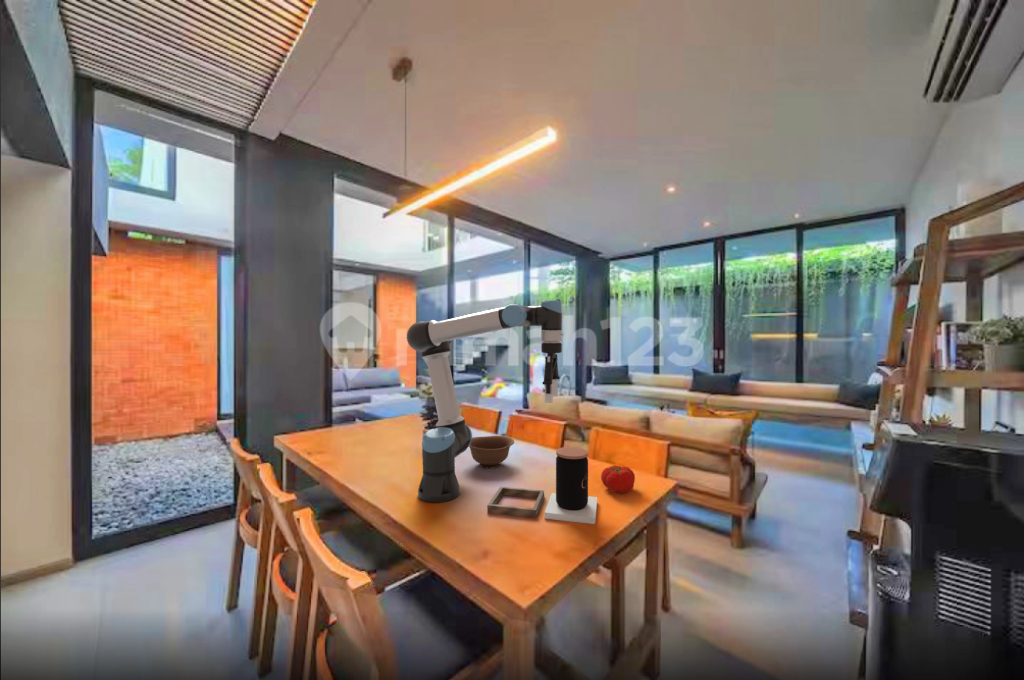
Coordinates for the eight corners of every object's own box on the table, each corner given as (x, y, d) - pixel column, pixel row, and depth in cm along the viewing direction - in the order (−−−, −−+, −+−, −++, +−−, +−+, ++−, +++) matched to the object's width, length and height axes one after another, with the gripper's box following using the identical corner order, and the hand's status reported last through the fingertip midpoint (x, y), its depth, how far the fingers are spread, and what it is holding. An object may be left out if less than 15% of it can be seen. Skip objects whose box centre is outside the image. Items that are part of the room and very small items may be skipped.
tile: (544, 518, 133) (544, 512, 133) (551, 498, 148) (551, 492, 148) (595, 524, 129) (595, 517, 129) (597, 502, 144) (597, 497, 144)
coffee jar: (587, 512, 132) (587, 457, 132) (554, 510, 134) (554, 455, 134) (588, 499, 143) (588, 447, 142) (557, 496, 145) (557, 445, 144)
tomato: (608, 481, 165) (608, 459, 164) (640, 488, 157) (640, 465, 157) (594, 492, 153) (594, 469, 153) (627, 500, 146) (627, 476, 146)
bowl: (471, 456, 196) (471, 433, 196) (517, 458, 193) (517, 435, 193) (459, 472, 175) (459, 446, 174) (510, 475, 172) (510, 448, 171)
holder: (487, 512, 137) (487, 505, 137) (500, 493, 153) (500, 486, 153) (535, 517, 133) (535, 510, 133) (544, 497, 149) (544, 490, 149)
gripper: (557, 343, 139) (557, 406, 140) (565, 340, 164) (565, 394, 164) (535, 343, 141) (535, 405, 142) (546, 340, 165) (546, 393, 166)
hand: (551, 399), depth 153 cm, fingers open, 13 cm apart
